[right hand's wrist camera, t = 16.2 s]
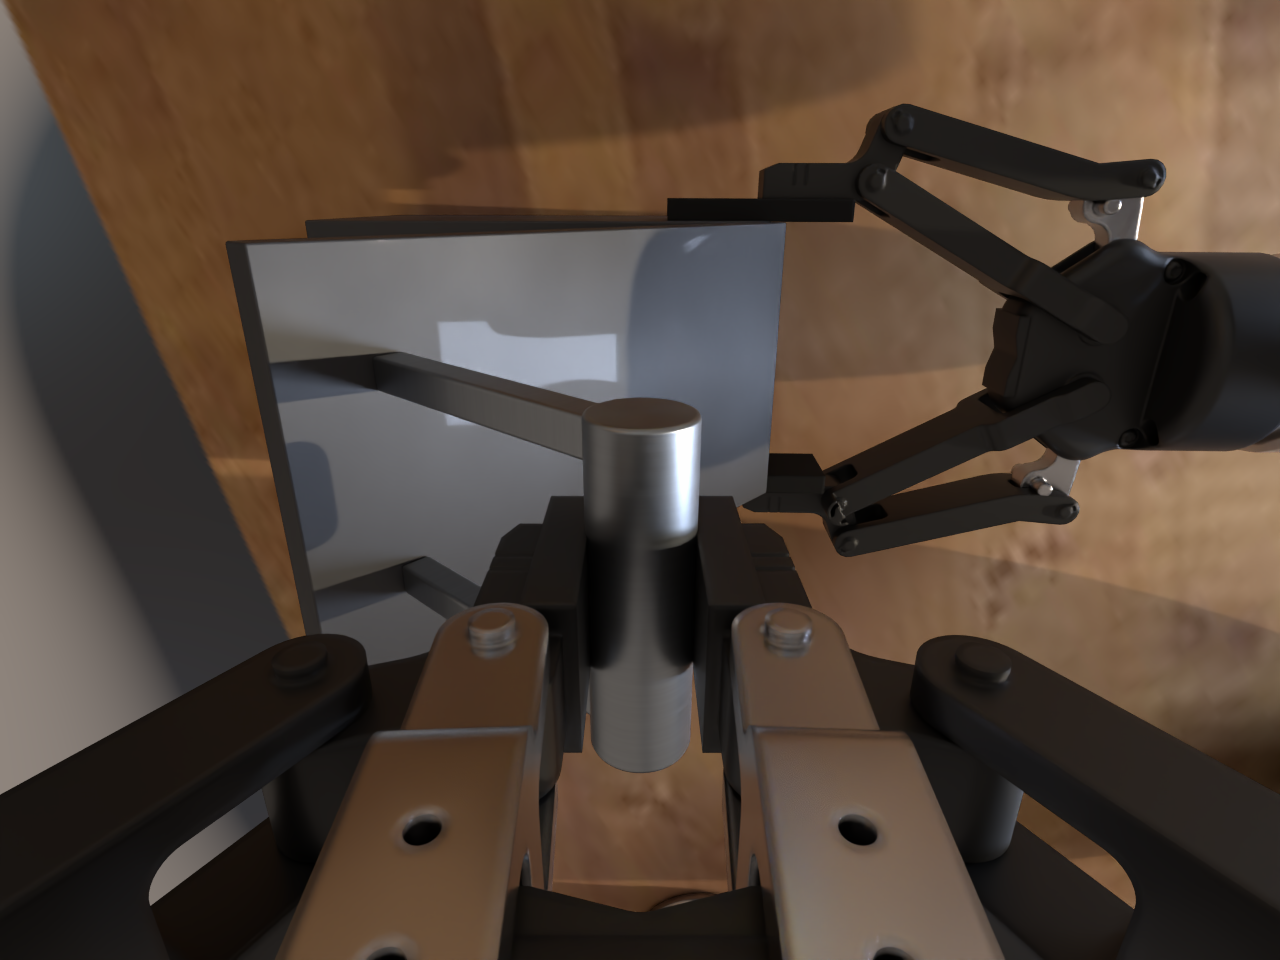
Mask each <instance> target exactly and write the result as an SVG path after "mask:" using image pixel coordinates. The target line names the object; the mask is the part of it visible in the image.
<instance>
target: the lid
mask: <svg viewBox="0 0 1280 960" xmlns="http://www.w3.org/2000/svg"><path fill="white" fill-rule="evenodd" d="M785 232H786V223H785V222H749V223H721V224H692V225H664V226H636V227H608V228H579V229H551V230H523V231H494V232H466V233H438V234H410V235H381V236H353V237H325V238H296V239H268V240H240V241H227V242H226V248H227V253H228V258H229V263H230V268H231V273H232V278H233V282H234V287H235V292H236V297H237V302H238V307H239V312H240V316H241V321H242V326H243V331H244V336H245V341H246V346H247V351H248V355H249V360H250V365H251V370H252V375H253V380H254V385H255V389H256V394H257V399H258V404H259V409H260V414H261V419H262V423H263V428H264V433H265V438H266V443H267V448H268V453H269V457H270V462H271V467H272V472H273V477H274V482H275V487H276V492H277V496H278V501H279V506H280V511H281V516H282V521H283V526H284V530H285V535H286V540H287V545H288V550H289V555H290V560H291V564H292V569H293V574H294V579H295V584H296V589H297V594H298V599H299V603H300V608H301V613H302V618H303V623H304V628H305V633H306V636H307V635H314V634H339V635H345V636H348V637H351V638H354V639H355V640H357V641H359V642H360V643H361V644H362V645H363V647H364V648H365V650H366V656H367V662H368V666H369V665H374V664H379V663H384V662H389V661H394V660H399V659H404V658H409V657H413V656H417V655H420V654H423V653H426V652H429V651H430V648H431V646H432V643H433V640H434V638H435V635H436V633H437V631H438V629H439V628H440V626H441V625H442V624H443V623H444V622H445V621H446V620H448V619H449V618H450V617H452V616H454V615H455V614H457V613H459V612H461V611H463V610H466V609H469V608H471V607H473V606H474V603H475V601H476V598H477V596H478V594H479V591H480V589H481V586H482V584H483V581H484V579H485V576H486V574H487V572H488V570H489V567H490V564H491V562H492V559H493V557H495V552H496V549H497V547H498V545H499V542H500V540H501V537H503V536H504V535H505V534H507V533H508V532H509V531H510V530H512V529H513V528H514V527H516V526H517V525H518V524H520V523H543V521H544V518H545V514H546V511H547V507H548V504H549V501H550V498H551V496H584V524H585V533H586V535H587V554H588V586H589V619H590V652H591V670H590V679H589V689H588V699H587V709H586V713H588V714H589V715H590V724H591V741H592V745H593V747H594V749H595V751H596V752H597V754H598V755H599V757H600V758H601V759H602V760H603V761H605V762H606V763H607V764H609V765H611V766H612V767H615V768H617V769H620V770H622V771H627V772H633V773H649V772H655V771H659V770H662V769H664V768H667V767H669V766H671V765H672V764H674V763H675V762H677V761H678V760H679V759H680V758H681V757H682V756H683V754H684V753H685V751H686V750H687V748H688V745H689V742H690V730H691V702H692V674H693V662H692V659H693V630H694V601H695V571H696V542H697V531H698V508H699V496H733V498H734V502H735V505H736V508H737V507H739V506H741V505H743V504H745V503H747V502H749V501H751V500H752V499H754V498H756V497H758V496H760V495H762V494H764V493H766V487H767V474H768V460H769V447H770V434H771V420H772V407H773V393H774V380H775V366H776V353H777V339H778V326H779V313H780V299H781V286H782V272H783V259H784V245H785Z"/></svg>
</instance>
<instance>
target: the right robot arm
mask: <svg viewBox="0 0 1280 960" xmlns="http://www.w3.org/2000/svg"><path fill="white" fill-rule="evenodd" d="M692 662H693V671H694V680H695V689H696V698H697V707H698V716H699V725H700V734H701V742H702V751H703V753H722V760H723V767H724V770H723V787H722V809H723V824H724V839H725V854H726V869H727V884H728V892H725V893H721V894H710V893H693V894H686V895H681V896H677V897H674V898H671V899H668V900H666V901H664V902H662V903H660V904H658V905H657V906H655V907H654V908H653V909H651V910H650V911H648V912H632V911H626V910H622V909H618V908H615V907H611V906H607V905H603V904H599V903H595V902H591V901H587V900H583V899H579V898H575V897H571V896H567V895H563V894H559V893H555V892H552V883H553V868H554V853H555V838H556V823H557V808H558V789H557V780H558V778H559V776H560V772H561V766H562V759H563V753H582V747H583V738H584V728H585V718H586V709H587V699H588V689H589V679H590V670H591V652H590V619H589V586H588V554H587V535H586V533H585V524H584V496H551V498H550V501H549V504H548V507H547V511H546V514H545V518H544V521H543V523H520V524H518V525H517V526H516V527H514V528H513V529H512V530H510V531H509V532H508V533H507V534H505V535H504V536H503V537H501V540H500V542H499V545H498V547H497V549H496V552H495V557H493V559H492V562H491V564H490V567H489V570H488V572H487V574H486V576H485V579H484V581H483V584H482V586H481V589H480V591H479V594H478V596H477V598H476V601H475V603H474V606H473V607H471V608H469V609H466V610H463V611H461V612H459V613H457V614H455V615H454V616H452V617H450V618H449V619H448V620H446V621H445V622H444V623H443V624H442V625H441V626H440V628H439V629H438V631H437V633H436V635H435V638H434V640H433V643H432V646H431V648H430V651H429V652H426V653H423V654H420V655H417V656H413V657H409V658H404V659H399V660H394V661H389V662H384V663H379V664H374V665H369V666H368V662H367V656H366V650H365V648H364V647H363V645H362V644H361V643H360V642H359V641H357V640H355V639H354V638H351V637H348V636H345V635H339V634H314V635H307V636H302V637H297V638H294V639H290V640H287V641H284V642H282V643H279V644H277V645H274V646H272V647H270V648H268V649H266V650H264V651H262V652H261V653H259V654H257V655H255V656H253V657H252V658H250V659H248V660H246V661H244V662H242V663H241V664H239V665H237V666H235V667H233V668H231V669H230V670H228V671H226V672H224V673H222V674H220V675H218V676H217V677H215V678H213V679H211V680H209V681H207V682H206V683H204V684H202V685H200V686H198V687H197V688H195V689H193V690H191V691H189V692H187V693H186V694H184V695H182V696H180V697H178V698H176V699H175V700H173V701H171V702H169V703H167V704H165V705H164V706H162V707H160V708H158V709H156V710H154V711H153V712H151V713H149V714H147V715H145V716H143V717H142V718H140V719H138V720H136V721H134V722H132V723H131V724H129V725H127V726H125V727H123V728H121V729H120V730H118V731H116V732H114V733H112V734H111V735H109V736H107V737H105V738H103V739H101V740H100V741H98V742H96V743H94V744H92V745H90V746H89V747H87V748H85V749H83V750H81V751H79V752H78V753H76V754H74V755H72V756H70V757H68V758H67V759H65V760H63V761H61V762H59V763H57V764H56V765H54V766H52V767H50V768H48V769H46V770H45V771H43V772H41V773H39V774H37V775H36V776H34V777H32V778H30V779H28V780H26V781H24V782H23V783H21V784H19V785H17V786H15V787H13V788H12V789H10V790H8V791H6V792H4V793H2V794H1V795H0V960H1280V795H1279V794H1278V793H1276V792H1274V791H1272V790H1270V789H1268V788H1267V787H1265V786H1263V785H1261V784H1259V783H1257V782H1256V781H1254V780H1252V779H1250V778H1248V777H1246V776H1245V775H1243V774H1241V773H1239V772H1237V771H1235V770H1234V769H1232V768H1230V767H1228V766H1226V765H1224V764H1223V763H1221V762H1219V761H1217V760H1215V759H1213V758H1212V757H1210V756H1208V755H1206V754H1204V753H1202V752H1201V751H1199V750H1197V749H1195V748H1193V747H1192V746H1190V745H1188V744H1186V743H1184V742H1182V741H1181V740H1179V739H1177V738H1175V737H1173V736H1171V735H1170V734H1168V733H1166V732H1164V731H1162V730H1160V729H1159V728H1157V727H1155V726H1153V725H1151V724H1149V723H1148V722H1146V721H1144V720H1142V719H1140V718H1138V717H1137V716H1135V715H1133V714H1131V713H1129V712H1127V711H1126V710H1124V709H1122V708H1120V707H1118V706H1116V705H1115V704H1113V703H1111V702H1109V701H1107V700H1105V699H1104V698H1102V697H1100V696H1098V695H1096V694H1094V693H1093V692H1091V691H1089V690H1087V689H1085V688H1084V687H1082V686H1080V685H1078V684H1076V683H1074V682H1073V681H1071V680H1069V679H1067V678H1065V677H1063V676H1062V675H1060V674H1058V673H1056V672H1054V671H1052V670H1051V669H1049V668H1047V667H1045V666H1043V665H1041V664H1040V663H1038V662H1036V661H1034V660H1032V659H1030V658H1029V657H1027V656H1025V655H1023V654H1021V653H1019V652H1018V651H1016V650H1014V649H1011V648H1009V647H1007V646H1005V645H1002V644H1000V643H997V642H994V641H991V640H987V639H983V638H978V637H973V636H965V635H947V636H941V637H936V638H933V639H930V640H928V641H927V642H925V643H924V644H922V645H921V646H920V648H919V649H918V651H917V655H916V661H915V665H911V664H906V663H901V662H895V661H890V660H885V659H880V658H876V657H872V656H868V655H865V654H862V653H859V652H856V651H854V650H852V649H849V646H848V643H847V641H846V638H845V635H844V633H843V631H842V629H841V628H840V627H839V625H838V624H837V623H836V622H835V621H833V620H832V619H831V618H830V617H828V616H826V615H825V614H823V613H821V612H819V611H817V610H814V609H812V607H811V604H810V602H809V600H808V597H807V595H806V592H805V590H804V588H803V585H802V583H801V581H800V578H799V576H798V573H797V571H796V570H795V566H794V564H793V561H792V559H791V557H789V552H788V550H787V547H786V545H785V542H784V540H783V538H782V537H781V536H780V535H779V534H777V533H776V532H775V531H773V530H772V529H771V528H769V527H768V526H767V525H765V524H741V521H740V518H739V515H738V511H737V508H736V505H735V502H734V498H733V496H699V508H698V531H697V542H696V571H695V601H694V630H693V659H692ZM261 788H262V792H263V796H264V799H265V803H266V807H267V811H268V815H269V817H268V818H267V819H265V820H264V821H263V822H261V823H260V824H259V825H257V826H256V827H255V828H254V829H252V830H251V831H249V832H248V833H247V834H246V835H244V836H243V837H242V838H240V839H239V840H238V841H236V842H235V843H234V844H232V845H231V846H230V847H228V848H227V849H226V850H224V851H223V852H222V853H220V854H219V855H218V856H216V857H215V858H214V859H212V860H211V861H210V862H208V863H207V864H206V865H204V866H203V867H202V868H200V869H199V870H198V871H196V872H195V873H194V874H192V875H191V876H190V877H188V878H187V879H186V880H184V881H183V882H182V883H180V884H179V885H178V886H176V887H175V888H174V889H172V890H171V891H170V892H168V893H167V894H166V895H164V896H163V897H162V898H160V899H159V900H158V901H156V902H155V903H154V904H152V905H151V906H150V904H149V890H150V885H151V883H152V880H153V878H154V876H155V874H156V872H157V871H158V869H159V868H160V866H161V865H162V864H163V862H164V861H165V860H166V859H167V858H168V857H169V856H170V855H171V854H172V853H173V852H174V851H175V850H176V849H177V848H179V847H180V846H181V845H182V844H184V843H185V842H186V841H188V840H189V839H191V838H192V837H194V836H195V835H196V834H198V833H199V832H201V831H202V830H203V829H205V828H206V827H208V826H209V825H210V824H212V823H213V822H215V821H216V820H217V819H219V818H220V817H222V816H223V815H225V814H226V813H227V812H229V811H230V810H231V809H233V808H234V807H236V806H237V805H239V804H240V803H241V802H243V801H244V800H246V799H247V798H248V797H250V796H251V795H253V794H254V793H255V792H257V791H258V790H260V789H261ZM1023 792H1025V793H1026V794H1027V795H1029V796H1030V797H1032V798H1033V799H1034V800H1036V801H1037V802H1039V803H1040V804H1041V805H1043V806H1044V807H1046V808H1047V809H1048V810H1050V811H1051V812H1053V813H1054V814H1056V815H1057V816H1058V817H1060V818H1061V819H1063V820H1064V821H1065V822H1067V823H1068V824H1070V825H1071V826H1072V827H1074V828H1075V829H1077V830H1078V831H1079V832H1081V833H1082V834H1084V835H1085V836H1086V837H1088V838H1089V839H1091V840H1092V841H1093V842H1095V843H1096V844H1098V845H1099V846H1101V847H1102V848H1103V849H1104V850H1106V851H1107V852H1108V853H1110V854H1111V855H1112V856H1113V857H1114V858H1115V859H1116V860H1117V861H1118V863H1119V864H1120V865H1121V866H1122V867H1123V869H1124V870H1125V872H1126V873H1127V875H1128V877H1129V878H1130V880H1131V882H1132V885H1133V887H1134V890H1135V895H1136V905H1135V909H1133V908H1132V907H1130V906H1129V905H1128V904H1126V903H1125V902H1124V901H1122V900H1121V899H1120V898H1118V897H1117V896H1116V895H1114V894H1113V893H1112V892H1110V891H1109V890H1108V889H1106V888H1105V887H1104V886H1102V885H1101V884H1100V883H1098V882H1097V881H1096V880H1094V879H1093V878H1092V877H1090V876H1089V875H1088V874H1086V873H1085V872H1084V871H1082V870H1081V869H1080V868H1078V867H1077V866H1076V865H1074V864H1073V863H1072V862H1070V861H1069V860H1068V859H1066V858H1065V857H1064V856H1062V855H1061V854H1060V853H1058V852H1057V851H1056V850H1054V849H1053V848H1052V847H1050V846H1049V845H1048V844H1047V843H1045V842H1044V841H1043V840H1041V839H1040V838H1039V837H1037V836H1036V835H1035V834H1033V833H1032V832H1031V831H1029V830H1028V829H1027V828H1025V827H1024V826H1023V825H1021V824H1020V823H1019V822H1017V821H1016V819H1017V815H1018V811H1019V807H1020V804H1021V800H1022V796H1023Z"/></svg>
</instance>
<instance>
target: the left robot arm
mask: <svg viewBox="0 0 1280 960" xmlns="http://www.w3.org/2000/svg"><path fill="white" fill-rule="evenodd" d="M865 133H866V135H865V137H864V140H863V142H862V144H861V146H860V149H859V151H858V152H857V154H856V155H855V157H854V158H853V159H852V160H850V161H849V162H847V163H778V164H775V165H772V166H770V167H767V168H765V169H763V170H760V171H759V186H758V199H729V198H667V221H770V222H853V218H854V209H855V203H857V204H858V205H860V206H862V207H863V208H865V209H866V210H868V211H870V212H871V213H873V214H874V215H876V216H877V217H879V218H881V219H882V220H884V221H885V222H887V223H889V224H890V225H892V226H893V227H895V228H897V229H898V230H900V231H901V232H903V233H904V234H906V235H908V236H909V237H911V238H912V239H914V240H916V241H917V242H919V243H920V244H922V245H924V246H925V247H927V248H928V249H930V250H931V251H933V252H935V253H936V254H938V255H939V256H941V257H943V258H944V259H946V260H947V261H949V262H951V263H952V264H954V265H955V266H957V267H958V268H960V269H962V270H963V271H965V272H966V273H968V274H970V275H971V276H973V277H974V278H976V279H977V280H979V282H980V283H981V284H983V285H984V286H986V287H987V288H989V289H990V290H992V291H994V292H995V293H997V294H998V295H1000V296H1001V297H1003V298H1005V299H1006V300H1007V301H1006V302H1005V304H1004V306H1003V308H996V313H995V318H994V324H993V337H994V349H993V351H992V354H991V356H990V358H989V360H988V362H987V364H986V367H985V372H984V377H983V382H982V385H983V386H985V387H987V388H986V389H984V390H982V391H980V392H977V393H975V394H973V395H971V396H969V397H967V398H965V399H963V400H961V401H960V402H959V403H958V404H957V407H956V408H954V409H953V410H951V411H948V412H946V413H944V414H942V415H940V416H938V417H936V418H934V419H932V420H929V421H927V422H925V423H923V424H921V425H919V426H917V427H915V428H912V429H910V430H908V431H906V432H904V433H902V434H900V435H898V436H895V437H893V438H891V439H889V440H887V441H885V442H883V443H881V444H878V445H876V446H874V447H872V448H870V449H868V450H866V451H864V452H861V453H859V454H857V455H855V456H853V457H851V458H849V459H847V460H844V461H842V462H840V463H838V464H836V465H834V466H832V467H830V468H827V469H825V470H823V471H822V470H821V468H820V466H819V464H818V463H817V461H816V459H815V458H814V456H813V454H780V453H769V460H768V474H767V487H766V493H764V494H762V495H760V496H758V497H756V498H754V499H752V500H751V501H749V502H747V503H745V504H743V508H746V509H748V510H751V511H753V512H787V513H815V514H818V515H820V516H821V517H822V519H823V524H824V527H825V529H826V531H827V533H828V535H829V537H830V539H831V541H832V543H833V545H834V547H835V549H836V551H837V552H838V553H839V554H840V555H842V556H845V557H852V556H857V555H861V554H866V553H871V552H875V551H880V550H885V549H889V548H894V547H899V546H903V545H908V544H913V543H918V542H922V541H927V540H932V539H936V538H941V537H946V536H950V535H955V534H960V533H964V532H969V531H974V530H978V529H983V528H988V527H992V526H997V525H1002V524H1007V523H1011V522H1016V521H1026V522H1037V523H1048V524H1058V525H1061V524H1067V523H1069V522H1072V521H1073V520H1074V519H1075V518H1076V517H1077V515H1078V513H1079V508H1080V507H1079V504H1078V502H1076V501H1075V500H1074V499H1073V498H1072V497H1070V496H1069V493H1070V490H1071V487H1072V484H1073V481H1074V479H1075V476H1076V473H1077V470H1078V467H1079V464H1080V461H1081V460H1085V459H1088V458H1091V457H1093V456H1095V455H1097V454H1100V453H1102V452H1105V451H1109V450H1114V449H1129V450H1167V451H1232V450H1237V449H1238V450H1243V451H1250V452H1280V254H1274V255H1270V254H1264V253H1224V252H1157V251H1155V250H1153V249H1151V248H1149V247H1148V246H1146V245H1145V244H1144V243H1142V242H1140V241H1138V240H1137V236H1138V230H1139V224H1140V219H1141V213H1142V207H1143V201H1144V197H1147V196H1150V195H1153V194H1154V193H1156V192H1157V191H1158V190H1159V189H1160V188H1161V186H1162V185H1163V184H1164V181H1165V178H1166V168H1165V166H1164V164H1163V163H1162V162H1160V161H1159V160H1155V159H1144V160H1133V161H1121V162H1109V163H1097V162H1093V161H1090V160H1087V159H1084V158H1081V157H1077V156H1074V155H1071V154H1068V153H1065V152H1061V151H1058V150H1055V149H1052V148H1049V147H1045V146H1042V145H1039V144H1036V143H1032V142H1029V141H1026V140H1023V139H1020V138H1016V137H1013V136H1010V135H1007V134H1004V133H1000V132H997V131H994V130H991V129H988V128H984V127H981V126H978V125H975V124H972V123H968V122H965V121H962V120H959V119H956V118H952V117H949V116H946V115H943V114H940V113H936V112H933V111H930V110H927V109H924V108H920V107H917V106H914V105H911V104H901V105H898V106H895V107H892V108H890V109H887V110H885V111H882V112H880V113H878V114H876V115H874V116H873V117H872V118H871V119H870V121H869V122H868V124H867V127H866V132H865ZM902 156H904V157H907V158H911V159H914V160H917V161H920V162H924V163H927V164H930V165H934V166H937V167H940V168H943V169H947V170H950V171H953V172H956V173H960V174H963V175H966V176H969V177H973V178H976V179H979V180H982V181H986V182H989V183H992V184H996V185H999V186H1002V187H1005V188H1009V189H1012V190H1015V191H1018V192H1022V193H1025V194H1028V195H1031V196H1035V197H1039V198H1043V199H1048V200H1058V201H1070V202H1069V205H1068V210H1069V211H1070V214H1071V217H1072V218H1073V219H1074V220H1075V221H1077V222H1080V223H1084V224H1088V225H1089V226H1091V227H1092V229H1093V230H1094V233H1095V241H1093V242H1091V243H1089V244H1087V245H1086V246H1084V247H1083V248H1081V249H1079V250H1078V251H1076V252H1075V253H1073V254H1072V255H1070V256H1068V257H1067V258H1065V259H1064V260H1062V261H1061V262H1059V263H1057V264H1056V265H1054V266H1053V267H1051V268H1050V267H1049V266H1047V265H1045V264H1044V263H1042V262H1040V261H1038V260H1035V259H1033V258H1030V257H1028V256H1027V255H1025V254H1023V253H1022V252H1020V251H1019V250H1017V249H1016V248H1014V247H1013V246H1011V245H1009V244H1008V243H1006V242H1005V241H1003V240H1002V239H1000V238H999V237H997V236H995V235H994V234H992V233H991V232H989V231H988V230H986V229H985V228H983V227H981V226H980V225H978V224H977V223H975V222H974V221H972V220H971V219H969V218H968V217H966V216H964V215H963V214H961V213H960V212H958V211H957V210H955V209H954V208H952V207H950V206H949V205H947V204H946V203H944V202H943V201H941V200H940V199H938V198H937V197H935V196H933V195H932V194H930V193H929V192H927V191H926V190H924V189H923V188H921V187H919V186H918V185H916V184H915V183H913V182H912V181H910V180H909V179H907V178H905V177H904V176H902V175H901V174H899V173H898V172H896V169H897V167H898V165H899V163H900V161H901V159H902ZM1032 438H1034V439H1035V440H1037V441H1038V442H1039V443H1040V444H1042V445H1043V446H1044V447H1045V448H1046V451H1045V453H1044V455H1043V456H1042V457H1041V458H1040V459H1038V460H1037V461H1034V462H1030V463H1024V464H1016V465H1015V466H1013V468H1012V470H1011V473H1012V474H1010V473H997V474H987V475H981V476H977V477H972V478H968V479H963V480H959V481H954V482H950V483H945V484H941V485H936V486H932V487H927V488H923V489H918V490H914V491H909V492H905V493H900V494H896V495H893V494H895V493H898V492H900V491H902V490H904V489H906V488H909V487H911V486H913V485H915V484H917V483H920V482H922V481H924V480H926V479H928V478H931V477H933V476H935V475H937V474H939V473H942V472H944V471H946V470H948V469H950V468H953V467H955V466H957V465H959V464H961V463H964V462H966V461H968V460H970V459H972V458H975V457H977V456H979V455H981V454H984V453H986V452H989V451H1002V450H1007V449H1009V448H1012V447H1014V446H1016V445H1018V444H1021V443H1023V442H1025V441H1027V440H1030V439H1032Z"/></svg>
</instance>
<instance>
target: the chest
mask: <svg viewBox="0 0 1280 960" xmlns="http://www.w3.org/2000/svg"><path fill="white" fill-rule="evenodd" d="M749 222H770V221H667V216H537V215H393V216H375V217H357V218H339V219H321V220H307V221H305V224H306V230H307V236H308V238H325V237H353V236H381V235H410V234H438V233H466V232H494V231H523V230H551V229H579V228H608V227H636V226H664V225H692V224H721V223H749Z"/></svg>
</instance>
